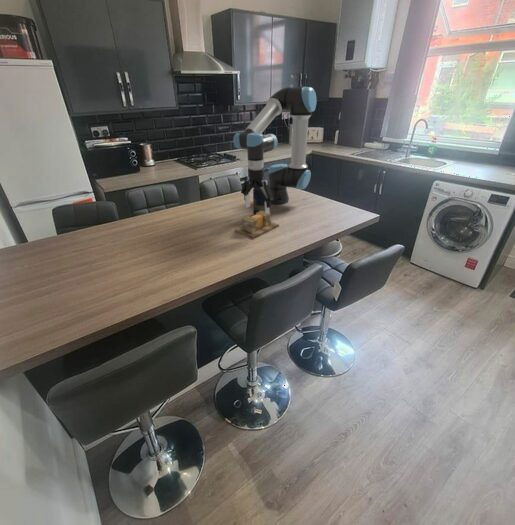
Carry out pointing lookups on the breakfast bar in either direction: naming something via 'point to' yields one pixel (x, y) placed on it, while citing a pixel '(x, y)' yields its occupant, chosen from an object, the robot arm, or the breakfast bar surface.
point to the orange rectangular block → (259, 218)
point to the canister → (258, 201)
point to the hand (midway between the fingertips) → (257, 210)
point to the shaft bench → (258, 233)
